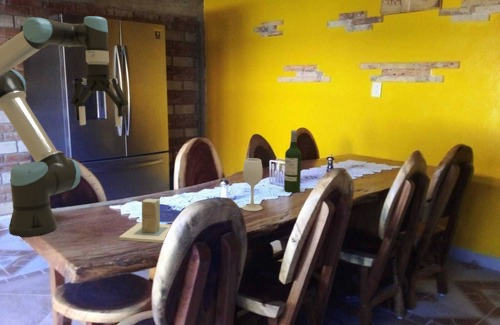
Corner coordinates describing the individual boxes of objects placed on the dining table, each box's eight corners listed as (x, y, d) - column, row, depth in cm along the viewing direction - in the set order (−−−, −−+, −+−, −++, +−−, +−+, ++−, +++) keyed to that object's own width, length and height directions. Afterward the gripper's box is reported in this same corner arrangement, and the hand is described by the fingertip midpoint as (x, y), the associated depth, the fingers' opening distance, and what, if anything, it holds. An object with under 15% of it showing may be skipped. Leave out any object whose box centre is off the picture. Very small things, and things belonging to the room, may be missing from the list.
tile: (119, 239, 146) (119, 236, 146) (139, 224, 162) (139, 222, 162) (164, 243, 144) (164, 240, 143) (180, 227, 159) (180, 225, 159)
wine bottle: (282, 191, 215) (284, 130, 209) (286, 188, 222) (287, 129, 217) (298, 193, 212) (300, 131, 207) (301, 189, 220) (303, 130, 214)
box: (141, 232, 151) (140, 201, 149) (146, 228, 155) (145, 198, 153) (156, 233, 150) (155, 202, 148) (160, 229, 154) (160, 198, 152)
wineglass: (257, 204, 191) (258, 157, 188) (265, 210, 183) (266, 160, 180) (239, 206, 188) (239, 158, 184) (246, 212, 180) (247, 161, 176)
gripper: (58, 63, 149) (62, 125, 153) (126, 63, 145) (129, 127, 149) (70, 64, 157) (74, 123, 160) (136, 64, 152) (138, 125, 156)
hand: (100, 125), depth 155 cm, fingers open, 13 cm apart
